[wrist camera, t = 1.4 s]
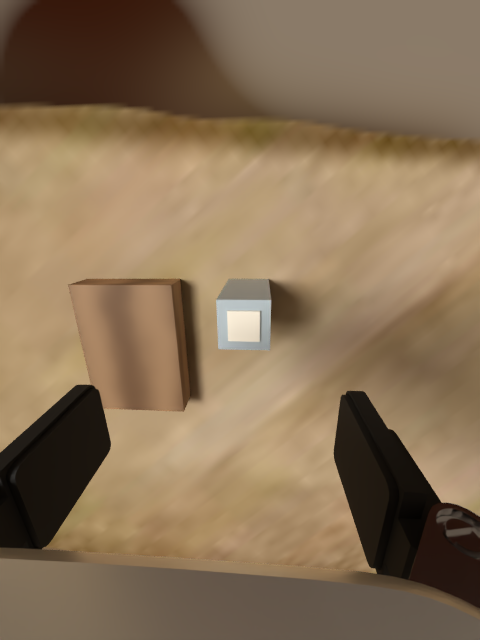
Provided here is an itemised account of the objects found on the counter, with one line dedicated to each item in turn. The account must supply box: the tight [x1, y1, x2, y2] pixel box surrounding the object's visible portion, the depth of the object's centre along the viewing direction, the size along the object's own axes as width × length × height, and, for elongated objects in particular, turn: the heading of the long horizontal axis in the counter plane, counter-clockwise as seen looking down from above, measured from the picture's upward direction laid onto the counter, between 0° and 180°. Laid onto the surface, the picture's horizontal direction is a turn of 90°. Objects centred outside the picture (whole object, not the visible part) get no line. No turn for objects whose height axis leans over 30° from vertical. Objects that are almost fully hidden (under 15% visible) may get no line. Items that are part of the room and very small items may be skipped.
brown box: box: [68, 279, 191, 411], centre depth 29 cm, size 10×14×3 cm
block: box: [216, 279, 271, 350], centre depth 24 cm, size 4×4×8 cm
